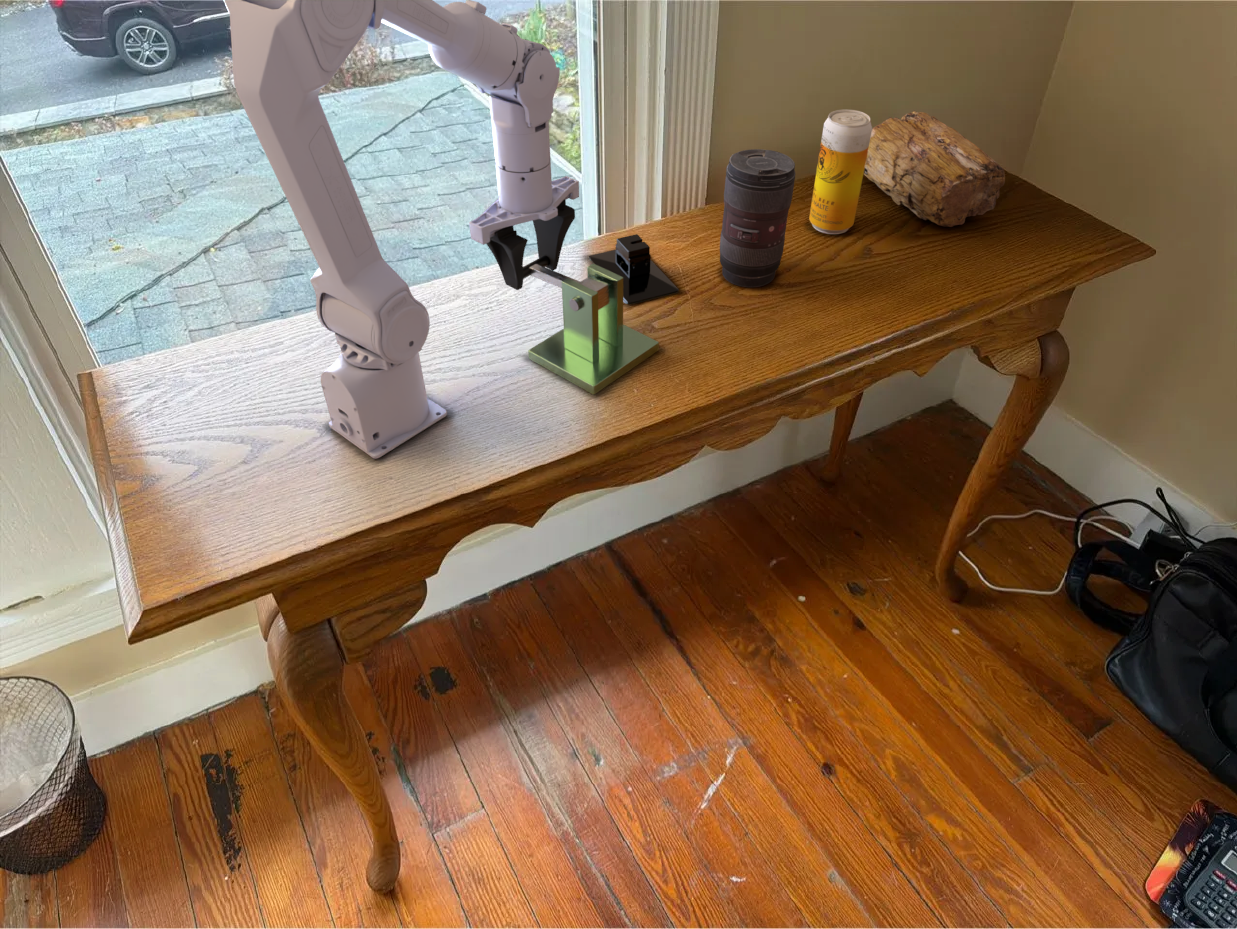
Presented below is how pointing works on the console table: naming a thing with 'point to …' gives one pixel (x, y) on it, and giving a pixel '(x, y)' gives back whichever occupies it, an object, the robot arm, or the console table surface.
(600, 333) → the bracket
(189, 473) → the console table surface
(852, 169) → the beer can
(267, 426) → the console table surface
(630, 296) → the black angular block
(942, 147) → the petrified wood
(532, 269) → the lever
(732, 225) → the camera lens
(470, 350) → the console table surface
